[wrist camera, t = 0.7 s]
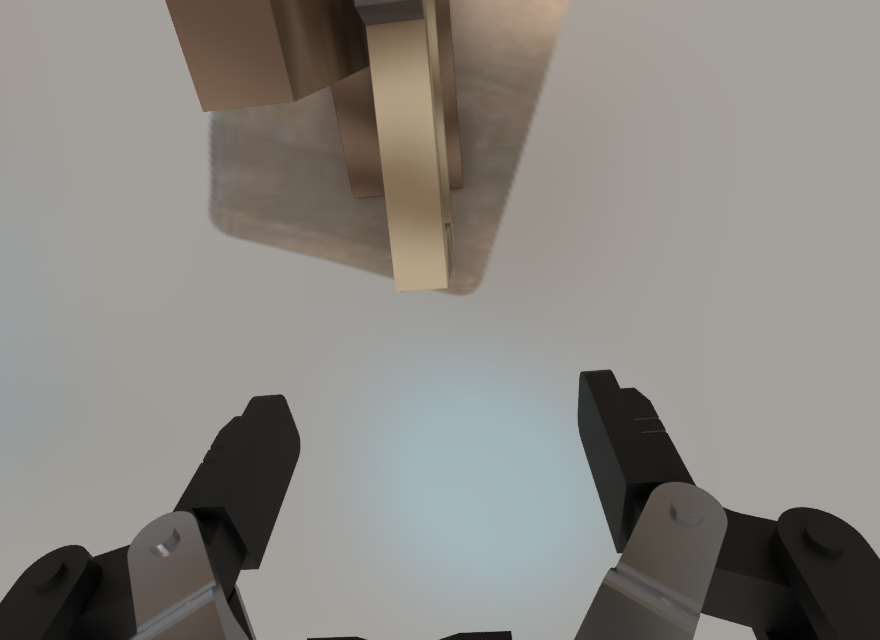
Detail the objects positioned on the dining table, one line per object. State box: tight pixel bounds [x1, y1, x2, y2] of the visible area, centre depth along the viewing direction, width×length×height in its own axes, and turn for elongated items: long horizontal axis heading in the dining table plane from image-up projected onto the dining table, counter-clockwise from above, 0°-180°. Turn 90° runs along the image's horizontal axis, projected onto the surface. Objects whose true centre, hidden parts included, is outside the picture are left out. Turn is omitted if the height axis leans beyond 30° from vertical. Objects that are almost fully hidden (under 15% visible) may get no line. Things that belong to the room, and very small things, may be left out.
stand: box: [166, 0, 463, 198], centre depth 27 cm, size 30×11×32 cm, turn 6°
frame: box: [354, 0, 455, 292], centre depth 26 cm, size 24×2×18 cm, turn 6°
